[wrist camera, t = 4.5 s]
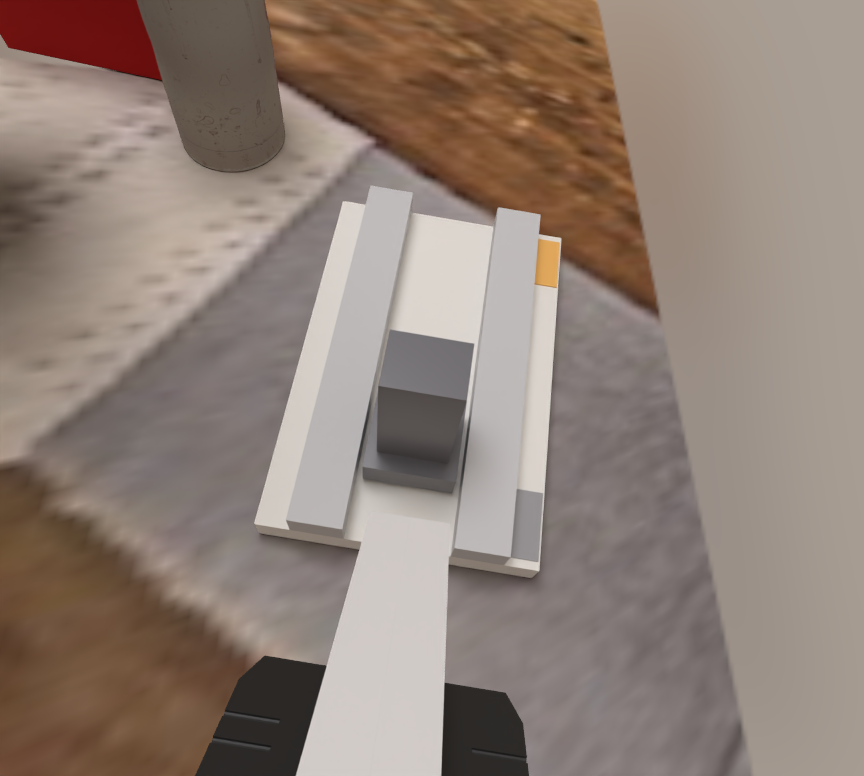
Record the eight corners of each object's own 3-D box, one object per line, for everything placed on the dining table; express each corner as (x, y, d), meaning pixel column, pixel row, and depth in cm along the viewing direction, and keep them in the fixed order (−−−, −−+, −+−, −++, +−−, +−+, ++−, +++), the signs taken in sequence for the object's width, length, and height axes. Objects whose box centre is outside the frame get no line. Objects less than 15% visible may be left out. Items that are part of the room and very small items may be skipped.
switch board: (531, 578, 38) (547, 563, 34) (259, 533, 38) (248, 513, 34) (554, 255, 49) (568, 219, 45) (344, 220, 49) (342, 180, 45)
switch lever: (452, 493, 37) (477, 422, 28) (362, 478, 37) (360, 403, 28) (462, 415, 40) (489, 328, 31) (378, 401, 40) (381, 309, 31)
